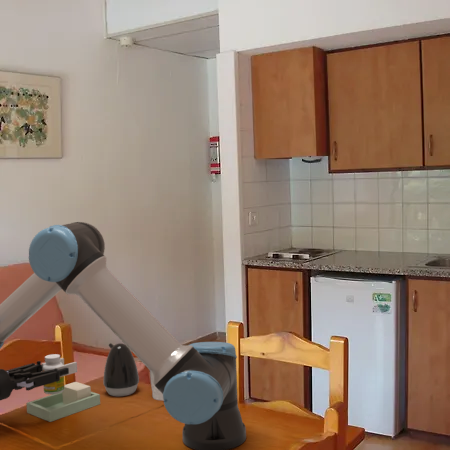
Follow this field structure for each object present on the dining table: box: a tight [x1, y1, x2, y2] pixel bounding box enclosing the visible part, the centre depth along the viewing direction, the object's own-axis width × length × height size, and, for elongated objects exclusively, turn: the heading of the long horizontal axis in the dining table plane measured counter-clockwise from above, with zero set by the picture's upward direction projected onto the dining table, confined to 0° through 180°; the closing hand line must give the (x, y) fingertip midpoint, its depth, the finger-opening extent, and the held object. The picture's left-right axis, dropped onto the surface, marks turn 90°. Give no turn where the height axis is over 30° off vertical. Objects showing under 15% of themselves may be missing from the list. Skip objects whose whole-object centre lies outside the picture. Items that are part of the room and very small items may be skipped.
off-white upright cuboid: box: [62, 381, 92, 404], centre depth 176 cm, size 7×4×5 cm, turn 49°
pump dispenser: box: [102, 342, 140, 397], centre depth 184 cm, size 10×10×15 cm
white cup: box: [149, 370, 164, 401], centre depth 179 cm, size 8×8×10 cm
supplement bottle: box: [43, 353, 65, 395], centre depth 170 cm, size 5×5×10 cm
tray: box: [26, 391, 101, 423], centre depth 173 cm, size 11×16×4 cm
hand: (69, 365), depth 174 cm, fingers closed on supplement bottle, 5 cm apart
